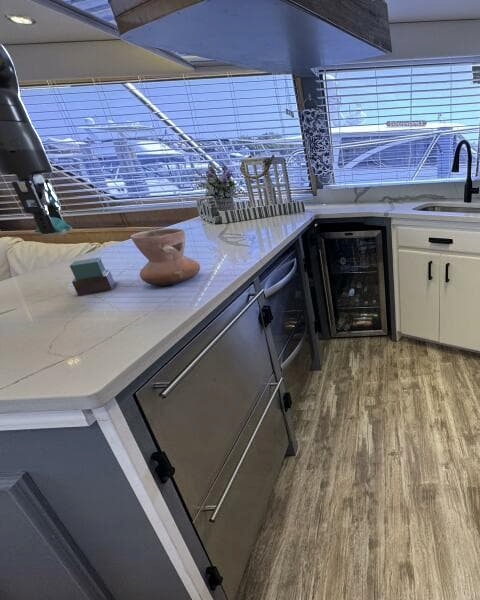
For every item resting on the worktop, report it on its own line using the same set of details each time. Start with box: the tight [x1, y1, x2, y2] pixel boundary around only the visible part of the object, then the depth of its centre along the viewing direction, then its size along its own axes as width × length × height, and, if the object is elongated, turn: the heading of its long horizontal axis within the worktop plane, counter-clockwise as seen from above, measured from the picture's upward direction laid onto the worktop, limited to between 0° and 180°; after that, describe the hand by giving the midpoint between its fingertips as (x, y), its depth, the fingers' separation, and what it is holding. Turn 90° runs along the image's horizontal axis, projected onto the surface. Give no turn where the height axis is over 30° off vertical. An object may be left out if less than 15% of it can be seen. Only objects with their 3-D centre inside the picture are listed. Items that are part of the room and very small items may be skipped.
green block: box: [69, 257, 106, 280], centre depth 87 cm, size 6×6×4 cm
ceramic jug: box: [130, 228, 201, 286], centre depth 91 cm, size 18×14×14 cm
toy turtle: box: [34, 217, 73, 237], centre depth 70 cm, size 6×7×4 cm
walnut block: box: [71, 269, 116, 297], centre depth 89 cm, size 7×7×4 cm
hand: (54, 230), depth 70 cm, fingers closed on toy turtle, 7 cm apart
